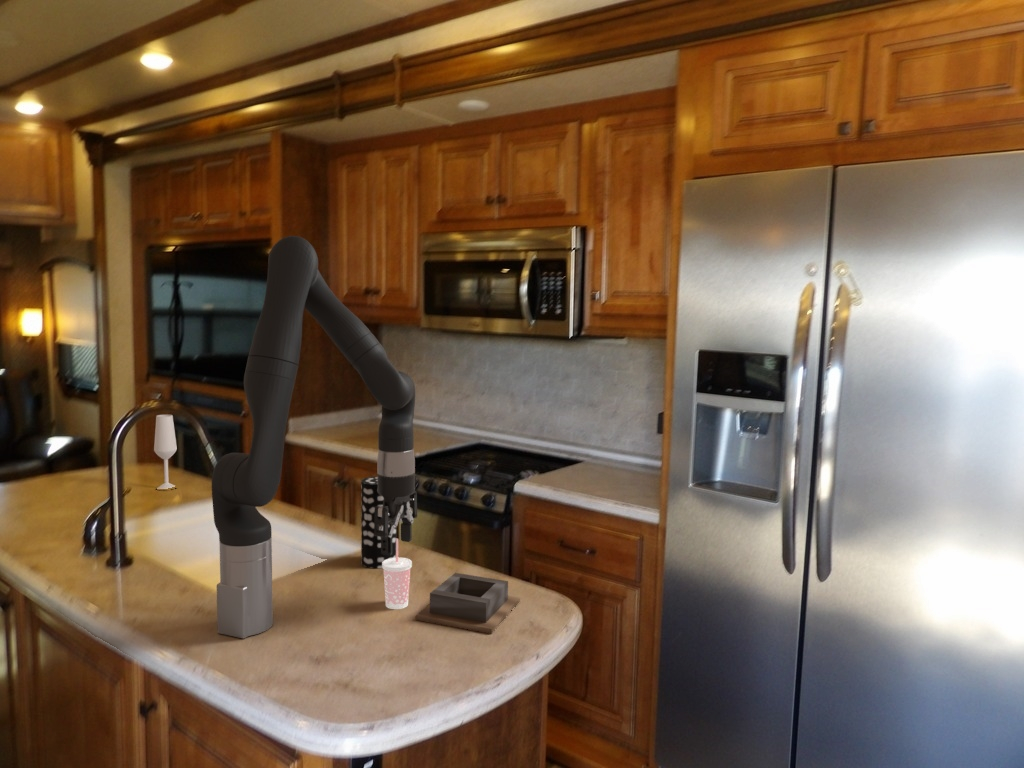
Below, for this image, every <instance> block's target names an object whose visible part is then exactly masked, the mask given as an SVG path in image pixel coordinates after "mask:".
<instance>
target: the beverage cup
mask: <svg viewBox="0 0 1024 768" xmlns="http://www.w3.org/2000/svg"><path fill="white" fill-rule="evenodd" d="M412 567H413V561H412V560H411V559H410V558H407V557H399V538H396V558H389V559H386V560H384V561H383V562H382V568H381V569H383V579H384V580H383V581H384V597H385V598H384V599H385V607H386V608H388V609H390V610H402V609H405V608H407V607H408V606H409V594H410V581H411V569H412Z"/></svg>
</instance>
